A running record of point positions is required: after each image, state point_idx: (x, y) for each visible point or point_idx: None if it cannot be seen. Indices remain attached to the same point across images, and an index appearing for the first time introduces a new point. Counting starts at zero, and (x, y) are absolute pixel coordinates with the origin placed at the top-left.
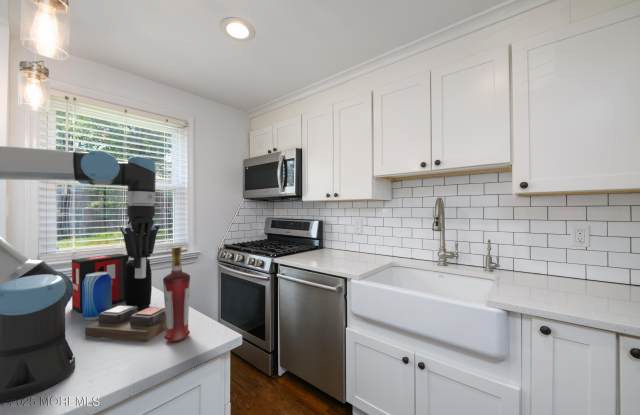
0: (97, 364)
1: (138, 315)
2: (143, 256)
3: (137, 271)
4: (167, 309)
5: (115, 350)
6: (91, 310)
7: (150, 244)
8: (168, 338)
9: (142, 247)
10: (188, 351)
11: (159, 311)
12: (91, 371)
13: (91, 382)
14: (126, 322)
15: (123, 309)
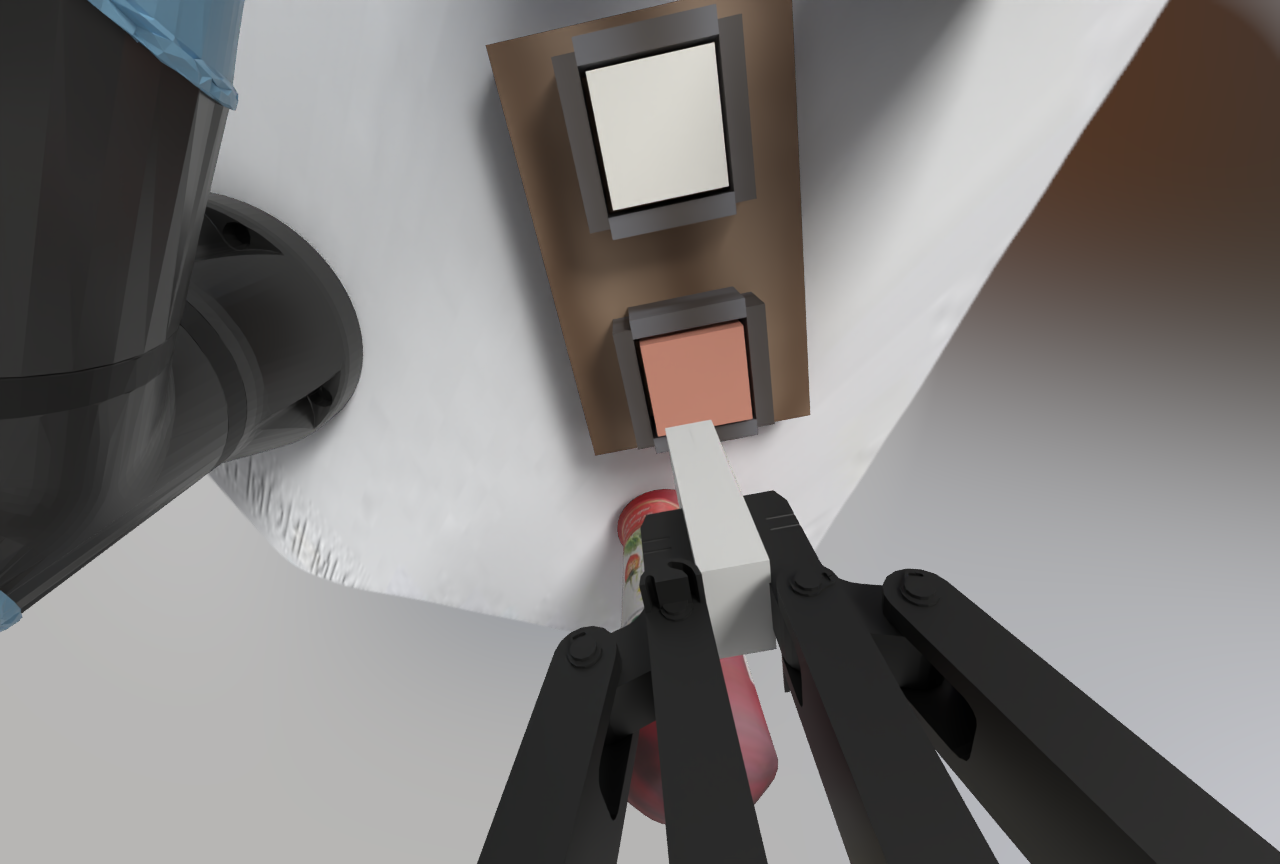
0: (416, 428)
1: (637, 368)
2: (777, 628)
3: (677, 491)
4: (621, 619)
5: (500, 387)
6: None
7: (1001, 810)
8: (620, 533)
9: (829, 757)
10: (608, 606)
11: (721, 420)
12: (386, 454)
13: (365, 512)
14: (634, 250)
15: (664, 181)
